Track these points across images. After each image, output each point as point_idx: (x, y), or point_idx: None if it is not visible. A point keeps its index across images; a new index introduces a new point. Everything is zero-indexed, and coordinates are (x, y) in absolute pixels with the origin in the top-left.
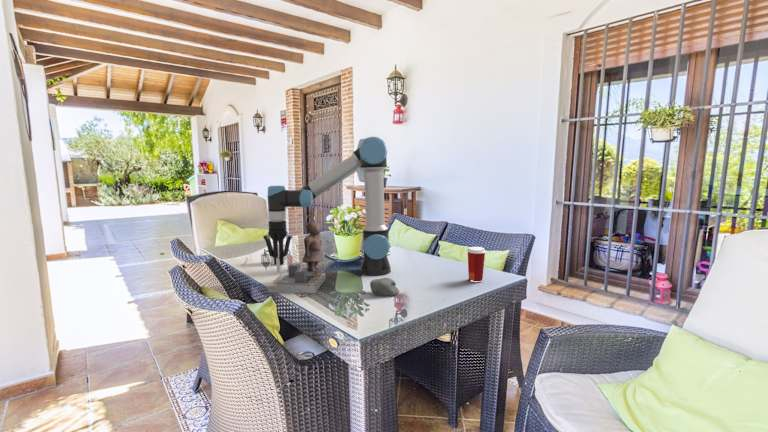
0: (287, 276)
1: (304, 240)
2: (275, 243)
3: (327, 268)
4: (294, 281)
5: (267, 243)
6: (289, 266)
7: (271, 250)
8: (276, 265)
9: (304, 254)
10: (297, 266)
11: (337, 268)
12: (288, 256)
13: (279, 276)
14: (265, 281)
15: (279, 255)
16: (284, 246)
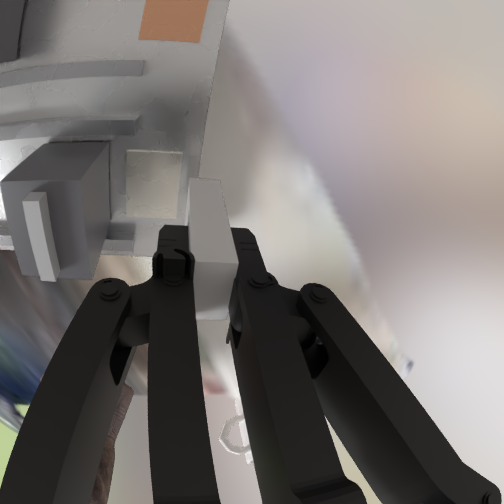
0: (109, 118)
1: (94, 493)
2: (296, 486)
3: (47, 361)
4: (41, 34)
5: (429, 438)
6: (70, 176)
7: (332, 359)
8: (225, 210)
9: (115, 418)
10: (4, 189)
11: (14, 357)
12: (228, 423)
13: (192, 161)
14: (294, 184)
15: (190, 294)
16: (252, 459)
